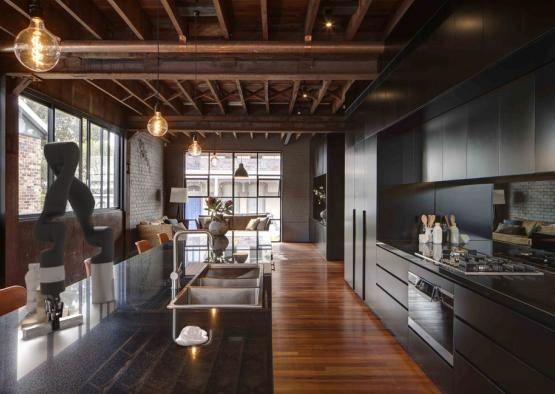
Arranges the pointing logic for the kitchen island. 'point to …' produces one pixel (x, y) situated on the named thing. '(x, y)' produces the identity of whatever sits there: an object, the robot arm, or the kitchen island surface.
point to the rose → (192, 336)
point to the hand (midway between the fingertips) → (54, 328)
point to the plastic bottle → (32, 286)
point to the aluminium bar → (47, 326)
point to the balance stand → (39, 312)
